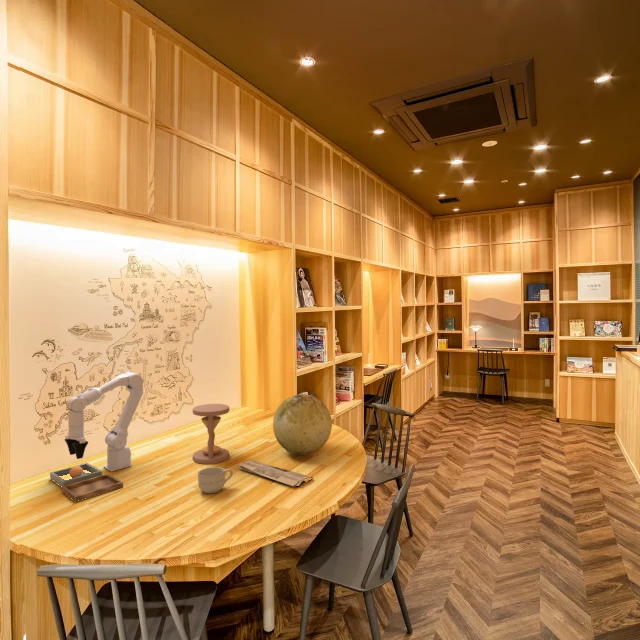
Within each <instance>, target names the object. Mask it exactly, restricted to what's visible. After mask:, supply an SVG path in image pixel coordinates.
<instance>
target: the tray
mask: <svg viewBox="0 0 640 640" xmlns="http://www.w3.org/2000/svg"><path fill="white" fill-rule="evenodd" d="M121 487H122V488H124V482H123V481H122V480H120V479H119V478H117V477H115V476H113V475H111V474H110V473H104V474H102V475H101V476H97V477H94V478H91V479H87V480H84V481H80V482H77V483H73V484H70V485H67V486H63V487H62V488H61V493H62V492H63V493H65V494H66V495H67V496H69V497H70V498H72V499H73V500H74V501H78V500H82V499H85V498H88V499H90V498H89V497H91V498H93V497H92V496H94V497H96V496H95V495H97V496H99V495H98V494H100V495H102V493H104V494H106V493H105V492H107V493H109V492H108V491H110V492H112V491H111V490H113V491H115V489H116V490H118V488H119V489H122V488H121ZM63 493H62V494H63ZM65 494H64V495H65ZM66 495H65V496H66ZM67 496H66V497H67ZM69 497H68V498H69ZM70 498H69V499H70ZM73 500H72V501H73ZM85 500H86V499H85ZM74 501H73V502H74ZM82 501H83V500H82Z"/></svg>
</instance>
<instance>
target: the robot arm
mask: <svg viewBox="0 0 640 640" xmlns="http://www.w3.org/2000/svg"><path fill="white" fill-rule="evenodd" d="M144 382H145V381H144V378H143V376H142V375H141V374H140V373H134V372H131V371H125V372H124V373H121V374H119V375H117V377H114V378H113V379H111V380H109V381H108V382H106V383H104V384H102V385H101V386H98V387H94V386H93V387H89V388H87V390H86V391H84V392H82V393H79V394H77V396H72V397H70V398H69V399H68V400H67V402H66V405H65V406H66V408H67V410H68V417H67V418H68V421H67V422H68V432H67V436H65V438H64V442H65V444H66V445H67V448H68V452H69V455H70V456H72V455H75V457H76V459H77V460H79V459H83V457H84V455H85V450H86V448H87V446H88V444H89V441H87V440H86V437H85V432H84V431H85V428H84V427H85V426H84V425H85V423H84V421H85V420H84V419H85V417H84V416H85V415H84V414H85V413H84V410H85V409H86V407H87V406H90V405H91V404H93V403H94V402H96V401H98V400H100V399H102V396H103V394H106V393H108V392H110V391H112V390H114V389H116V388H118V387H126V388H127V390H128V392H129V395H128V397H127V400H126V401H125V404H124V407H123V408H122V411H121V413H120V415H119V417H118V420H117V422H116V424H115V426H113V427H112V428H111V429H110V432H109V433H107V435H106V436H105V438H104V442H105V443H106V445H107V449H106V450H107V451H106V453H107V459H106V464H107V465H104V466H103V468H104V467H105V468H104V469H106V470H108V471H109V470H110V472H115V471H118V470H121V469H125V468H129V467H131V466H132V465H133V464H132V461H131V460H132V457H131V456H132V454H131V453H132V452H131V448H130V446H129V445H127V443H128V436H129V431H128V428H129V426H130V424H131V421H132V419H133V417H134V415H135V413H136V411H137V408H138V405H139V403H140V401H141V399H142V397H143V395H144V385H143V384H144Z"/></svg>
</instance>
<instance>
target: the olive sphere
mask: <svg viewBox="0 0 640 640" xmlns="http://www.w3.org/2000/svg"><path fill="white" fill-rule="evenodd" d="M272 421H273V422H272V430H273V434H274V437H275V439H276V441H277V443H278V444H279V445H280V446H281V447H282V448H283V449H284V450H285V451H287V452H289V454H290V453H291V454H293V455H297V456H306V455H310V454H313V453H316V452H317V451H319V450H320V449H322V448H323V447H324V445H325V444H326V443H327V442H328V440H329V438H330V436H331V433H332V429H333V428H332V427H333V423H332V416H331V413H330V411H329V408H328V407H327V406H326V405H325V403H324V402H323V401H321V400H320V398H317V397H315V396H314V395H310V394H304V393H303V394H295V395H292V396H289V397H288V398H286V399H285V400H283V402H281V403H280V404H279V406H278V407H277V408H276V411H275V413H274V415H273V419H272Z"/></svg>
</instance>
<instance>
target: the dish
mask: <svg viewBox="0 0 640 640" xmlns="http://www.w3.org/2000/svg"><path fill="white" fill-rule="evenodd" d="M74 466H75V465H74ZM74 466H70V467H66V468H62V469H59V470H55V471H51V472H49V479H50V478H51V479H52V480H54V481H55V482H56V483H58V484H59V485H60V486H62V487H63V486H67V485H70V484H73V483H77V482H80V481H84V480H87V479H91V478H94V477H97V476H101V475H103V473H102V470H101V469H99V468H97V467H96V466H94V465H92V464H90V463H88V462H85V463H81V464H78V465H77V464H76V466H80V467H81V468H82V469H83V470H87V471H89V472H91V473H85V472H83V473H82V475H81V476H79V477H76V478H72V479H69V480H64V479H62V478H61V477H59V476H63V475H67V474H69V472H70V470H71V468H72V467H74ZM52 480H51V481H52ZM56 483H55V484H56ZM60 486H59V487H60Z"/></svg>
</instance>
